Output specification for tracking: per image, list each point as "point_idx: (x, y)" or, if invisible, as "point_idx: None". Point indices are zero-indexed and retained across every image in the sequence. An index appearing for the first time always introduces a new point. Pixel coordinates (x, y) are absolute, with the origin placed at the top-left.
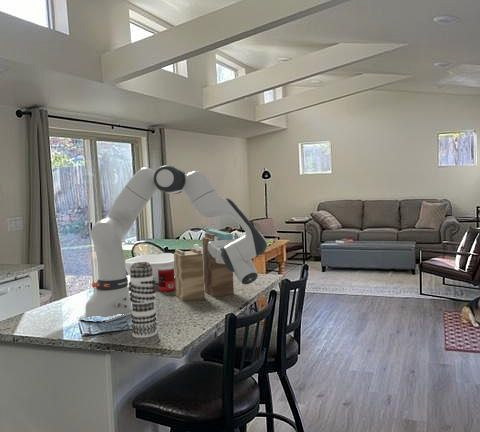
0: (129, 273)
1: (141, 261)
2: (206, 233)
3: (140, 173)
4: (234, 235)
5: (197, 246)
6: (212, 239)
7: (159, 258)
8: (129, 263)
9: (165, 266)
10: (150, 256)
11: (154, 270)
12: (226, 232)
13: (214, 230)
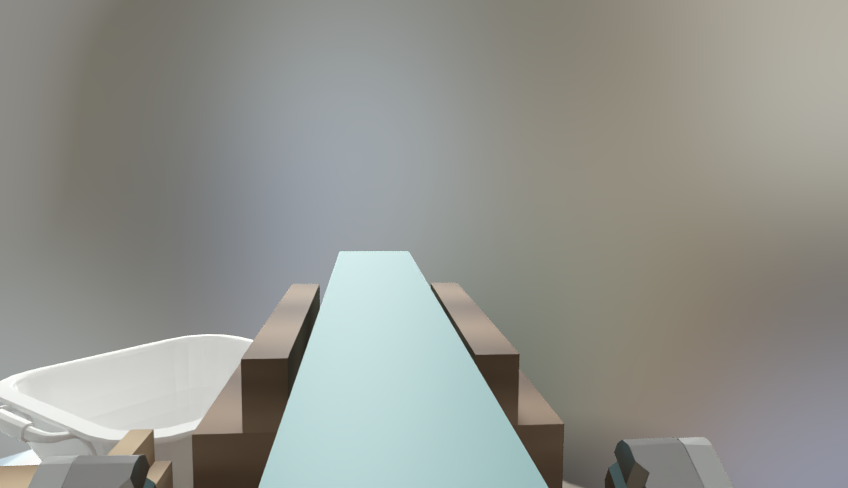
0: (30, 445)
1: (178, 365)
2: (285, 295)
3: None
4: (619, 464)
5: None
6: (232, 426)
7: None
8: (3, 401)
9: (156, 455)
10: (224, 345)
11: None
12: (457, 344)
13: (384, 268)
